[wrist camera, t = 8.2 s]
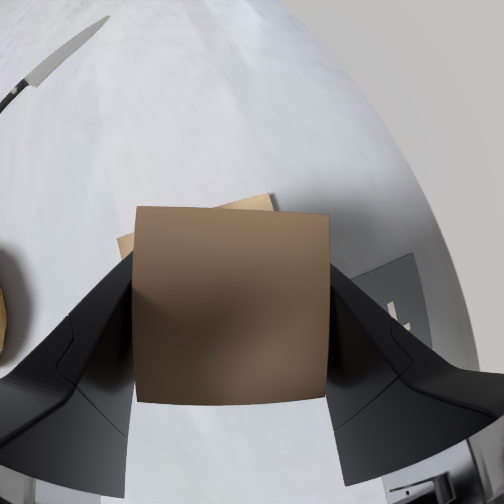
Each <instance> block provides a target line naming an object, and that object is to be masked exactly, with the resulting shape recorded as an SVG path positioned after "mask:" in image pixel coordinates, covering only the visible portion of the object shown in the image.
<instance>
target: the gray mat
mask: <svg viewBox="0 0 504 504" xmlns="http://www.w3.org/2000/svg"><path fill="white" fill-rule="evenodd" d="M351 281H352V282H353V283H355V284H356V285H357V286H358V287H359V288H360V289H362V290H363V291H364V292H365V293H366V294H367V295H369V296H370V297H371V298H372V299H373V300H374V301H375V302H377V303H378V304H379V305H380V306H381V307H382V308H383V309H384V310H386V311H387V312H388V313H389V314H390V315H391V317H393V318H395V319H396V320H397V321H398V322H399V323H400V324H401V325H402V326H404V327H405V328H406V329H407V330H408V331H409V332H410V333H412V334H413V335H414V336H415V337H417V338H418V339H419V340H420V341H422V342H423V343H424V344H425V345H427V346H428V347H429V348H430V349H432V342H431V335H430V329H429V323H428V317H427V312H426V306H425V301H424V297H423V292H422V287H421V283H420V279H419V275H418V271H417V267H416V263H415V259H414V255H413V253H411V254H409V255H407V256H405V257H402V258H400V259H398V260H396V261H394V262H391V263H389V264H387V265H385V266H382V267H380V268H378V269H376V270H373V271H371V272H369V273H366V274H364V275H362V276H359V277H357V278H354V279H352V280H351Z"/></svg>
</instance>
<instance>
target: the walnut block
mask: <svg viewBox="0 0 504 504" xmlns="http://www.w3.org/2000/svg"><path fill="white" fill-rule="evenodd" d="M329 317H330V239H329V215H321V214H308V213H295V212H280V211H263V210H245V209H224V208H197V207H156V206H137V210H136V220H135V232H134V247H133V268H132V339H133V359H134V373H135V385H136V395H137V402H145V403H157V404H173V405H205V406H220V405H252V404H268V403H280V402H290V401H299V400H307V399H315V398H322V397H325V390H326V377H327V362H328V344H329Z"/></svg>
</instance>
